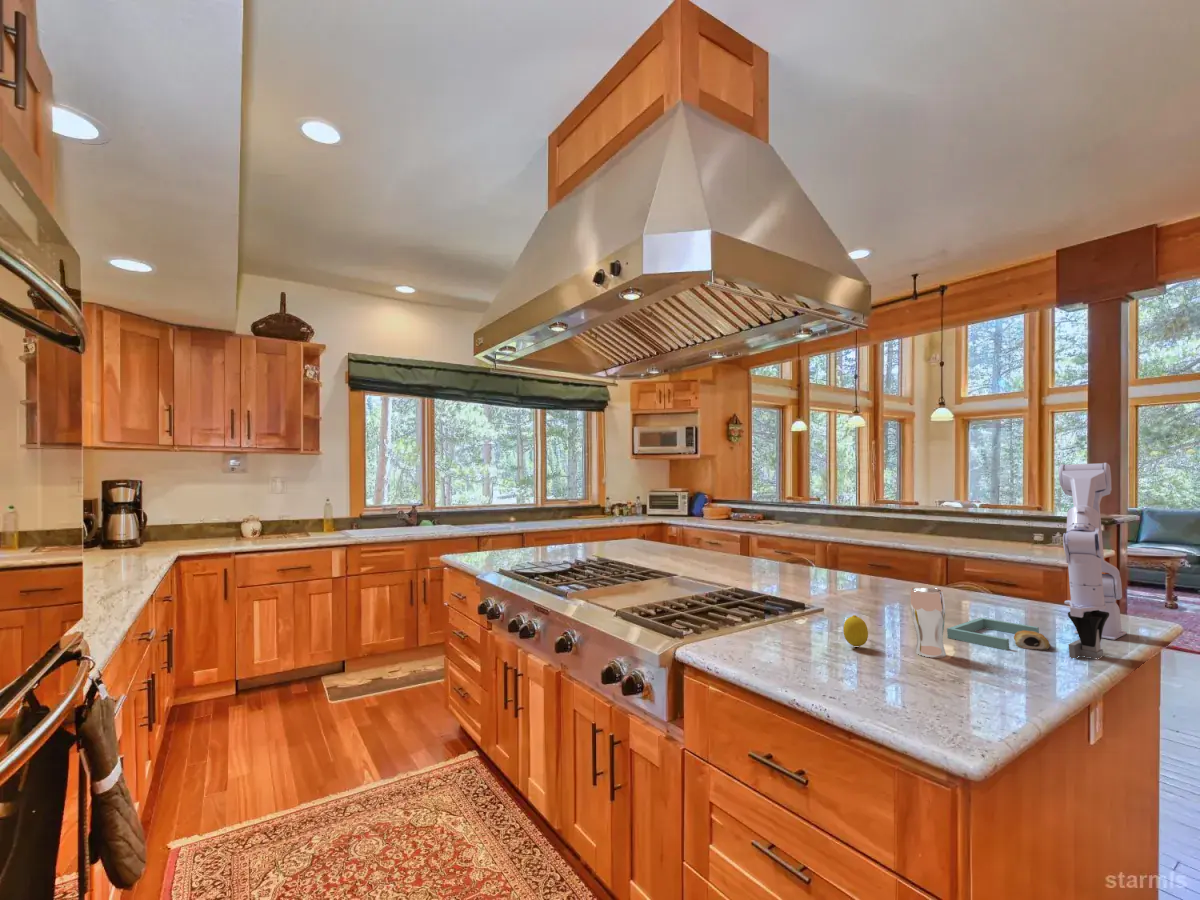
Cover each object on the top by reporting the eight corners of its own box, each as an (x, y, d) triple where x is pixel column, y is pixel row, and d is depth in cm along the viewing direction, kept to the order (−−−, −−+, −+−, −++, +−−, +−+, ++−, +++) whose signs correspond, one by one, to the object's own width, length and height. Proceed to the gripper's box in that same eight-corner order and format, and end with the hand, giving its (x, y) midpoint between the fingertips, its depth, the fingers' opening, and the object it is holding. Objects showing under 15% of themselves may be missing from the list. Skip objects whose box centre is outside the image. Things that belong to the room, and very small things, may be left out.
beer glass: (945, 651, 130) (941, 587, 131) (950, 660, 124) (945, 593, 125) (912, 648, 133) (908, 586, 134) (915, 657, 127) (910, 591, 128)
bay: (981, 626, 151) (980, 617, 151) (1039, 636, 140) (1038, 627, 140) (947, 637, 141) (947, 628, 141) (1007, 650, 130) (1006, 639, 130)
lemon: (871, 652, 131) (869, 618, 132) (847, 651, 132) (845, 617, 133) (865, 645, 137) (863, 612, 137) (841, 644, 138) (840, 612, 138)
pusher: (1085, 649, 129) (1083, 623, 129) (1108, 653, 125) (1106, 627, 126) (1069, 657, 123) (1067, 630, 124) (1092, 662, 120) (1090, 634, 120)
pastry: (1012, 638, 139) (1011, 623, 140) (1046, 642, 136) (1045, 627, 136) (1015, 648, 132) (1014, 632, 132) (1051, 652, 128) (1050, 636, 128)
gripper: (1075, 578, 132) (1080, 635, 131) (1051, 585, 124) (1056, 646, 123) (1114, 581, 126) (1119, 641, 125) (1091, 589, 118) (1097, 653, 118)
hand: (1091, 644), depth 124 cm, fingers closed on pusher, 2 cm apart
